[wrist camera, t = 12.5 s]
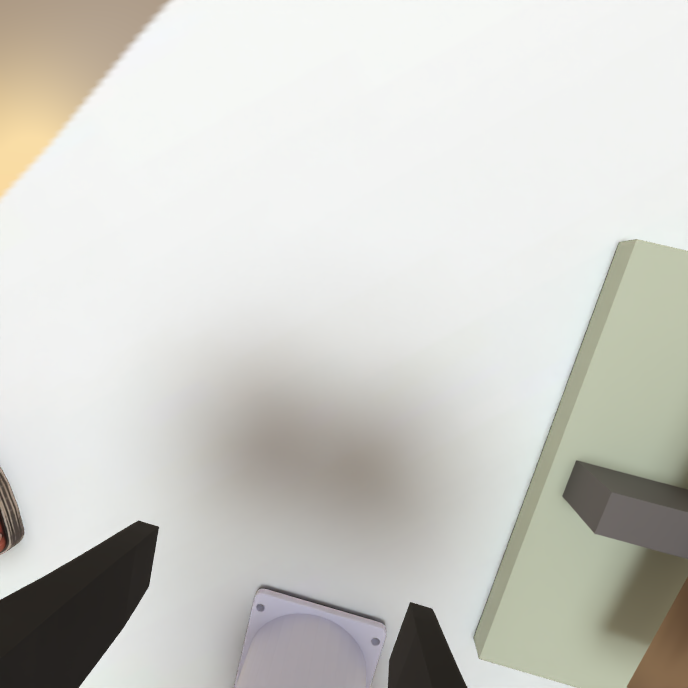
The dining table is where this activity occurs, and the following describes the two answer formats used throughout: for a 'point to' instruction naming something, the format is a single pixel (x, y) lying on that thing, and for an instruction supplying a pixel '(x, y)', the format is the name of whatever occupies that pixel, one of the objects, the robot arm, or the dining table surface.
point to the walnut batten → (667, 650)
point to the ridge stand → (605, 491)
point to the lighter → (8, 517)
